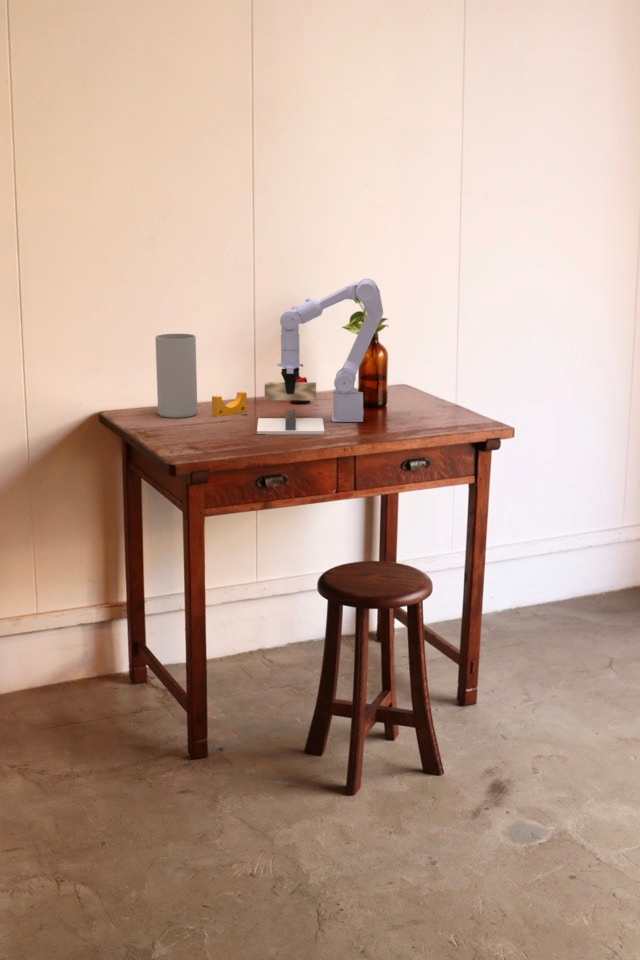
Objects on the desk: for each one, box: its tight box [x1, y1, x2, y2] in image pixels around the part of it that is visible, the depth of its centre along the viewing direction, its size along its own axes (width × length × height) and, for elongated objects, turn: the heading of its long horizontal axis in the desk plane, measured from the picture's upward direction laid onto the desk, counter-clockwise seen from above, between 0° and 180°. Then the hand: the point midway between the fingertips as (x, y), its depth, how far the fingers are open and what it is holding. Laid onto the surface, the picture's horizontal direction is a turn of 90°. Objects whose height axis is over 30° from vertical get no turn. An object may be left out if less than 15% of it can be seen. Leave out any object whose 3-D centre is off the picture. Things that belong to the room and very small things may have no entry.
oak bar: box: [264, 381, 317, 401], centre depth 361 cm, size 16×4×5 cm, turn 91°
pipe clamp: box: [211, 391, 248, 417], centre depth 371 cm, size 12×4×6 cm, turn 132°
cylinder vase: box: [155, 333, 198, 419], centre depth 366 cm, size 12×12×25 cm
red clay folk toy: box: [289, 363, 311, 405], centre depth 386 cm, size 8×7×15 cm
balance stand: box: [256, 408, 325, 435], centre depth 351 cm, size 20×18×4 cm
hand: (290, 392), depth 361 cm, fingers closed on oak bar, 3 cm apart
